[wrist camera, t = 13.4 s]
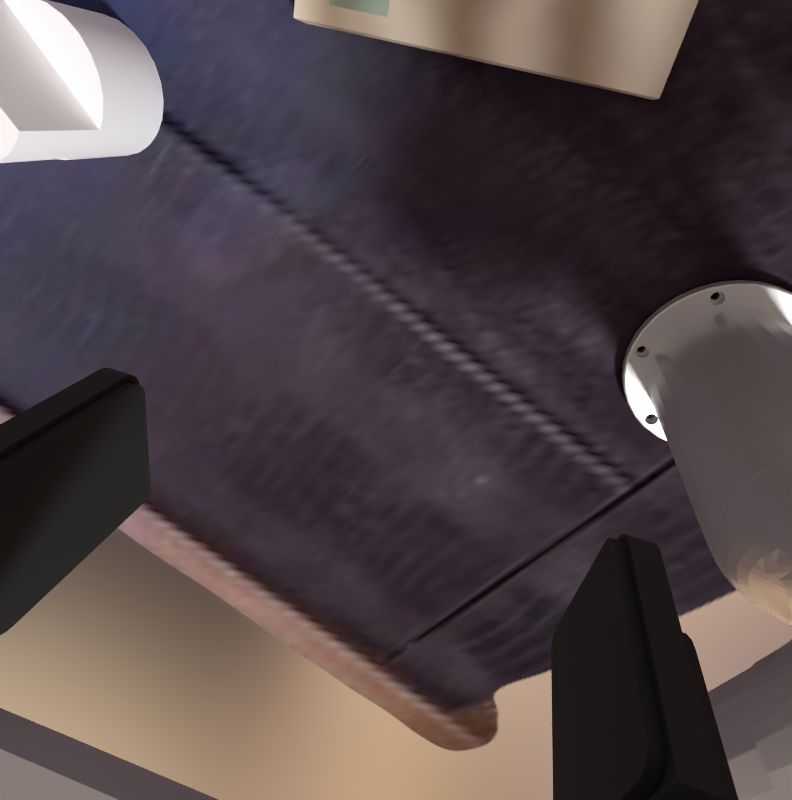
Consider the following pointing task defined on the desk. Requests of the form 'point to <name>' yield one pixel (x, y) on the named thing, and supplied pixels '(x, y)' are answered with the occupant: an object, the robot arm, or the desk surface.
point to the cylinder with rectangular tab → (73, 84)
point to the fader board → (529, 34)
